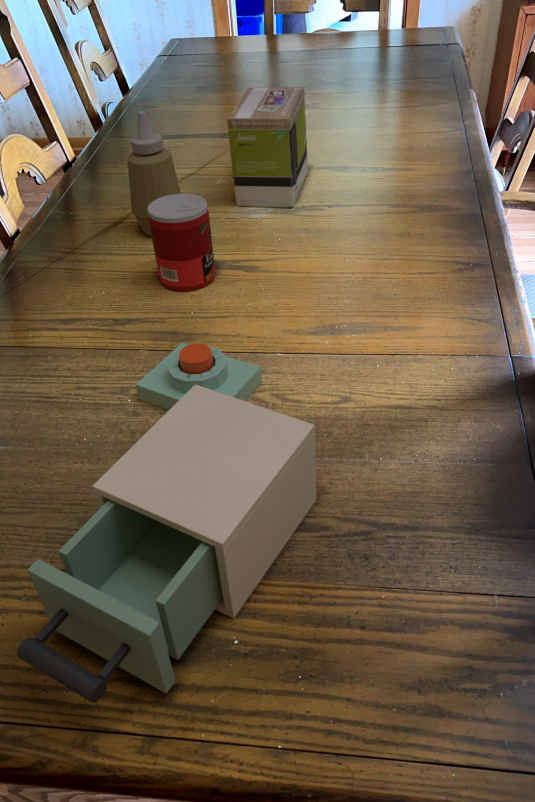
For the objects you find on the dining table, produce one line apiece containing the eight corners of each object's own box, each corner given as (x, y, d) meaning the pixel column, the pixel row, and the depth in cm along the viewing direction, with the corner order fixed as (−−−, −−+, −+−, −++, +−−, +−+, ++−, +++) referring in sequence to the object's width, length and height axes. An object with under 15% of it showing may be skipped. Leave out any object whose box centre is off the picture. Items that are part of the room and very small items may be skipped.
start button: (174, 370, 79) (172, 357, 78) (193, 352, 81) (191, 340, 80) (201, 379, 77) (199, 366, 76) (219, 361, 80) (218, 348, 78)
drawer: (129, 747, 50) (106, 691, 45) (12, 674, 55) (-20, 616, 50) (260, 562, 61) (253, 501, 56) (154, 515, 66) (140, 455, 61)
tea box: (254, 171, 129) (248, 85, 120) (309, 172, 127) (307, 85, 118) (234, 207, 118) (225, 115, 108) (294, 209, 116) (290, 116, 107)
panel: (138, 399, 81) (132, 371, 78) (184, 356, 87) (180, 329, 84) (219, 429, 76) (215, 400, 74) (262, 381, 82) (260, 353, 79)
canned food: (218, 288, 98) (210, 213, 91) (161, 296, 98) (147, 221, 91) (213, 261, 104) (204, 189, 97) (158, 268, 104) (145, 197, 96)
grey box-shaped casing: (234, 619, 58) (222, 544, 52) (114, 560, 64) (91, 485, 57) (316, 500, 68) (315, 424, 62) (206, 457, 73) (195, 383, 67)
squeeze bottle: (164, 244, 109) (144, 125, 98) (125, 233, 113) (101, 117, 101) (196, 223, 114) (181, 107, 103) (157, 213, 118) (139, 100, 106)
